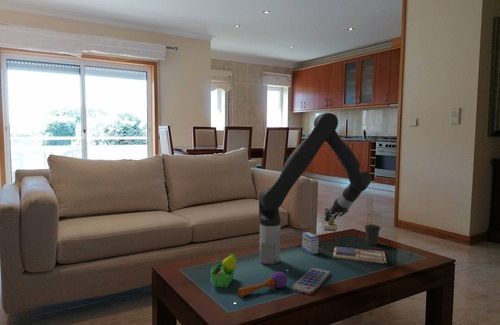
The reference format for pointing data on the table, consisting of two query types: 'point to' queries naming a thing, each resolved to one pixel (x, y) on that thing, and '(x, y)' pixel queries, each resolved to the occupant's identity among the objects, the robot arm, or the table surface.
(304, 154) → the robot arm
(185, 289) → the table surface
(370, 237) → the coffee cup
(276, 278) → the kendama
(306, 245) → the medicine box
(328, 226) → the stamp
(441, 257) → the table surface
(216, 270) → the fruit basket
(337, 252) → the ink pad
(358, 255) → the stamping board
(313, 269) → the remote control
